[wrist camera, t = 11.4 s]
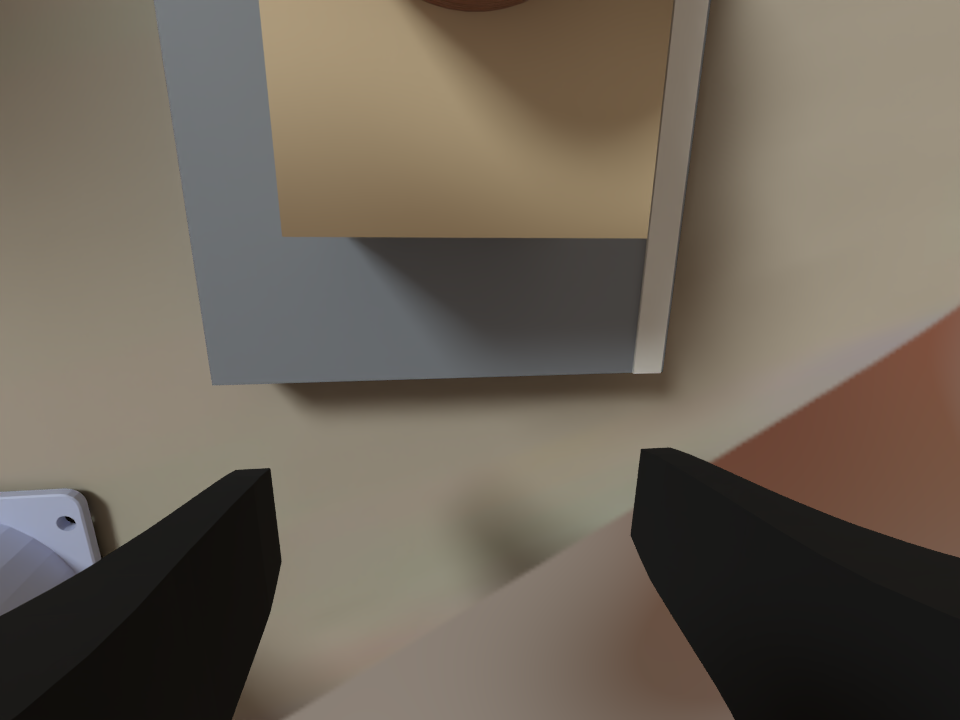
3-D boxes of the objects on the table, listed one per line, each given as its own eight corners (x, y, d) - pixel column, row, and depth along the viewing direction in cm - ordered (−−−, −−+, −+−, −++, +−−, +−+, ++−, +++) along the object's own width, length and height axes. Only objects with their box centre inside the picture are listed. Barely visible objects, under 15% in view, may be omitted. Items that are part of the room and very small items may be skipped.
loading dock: (627, 346, 17) (664, 372, 15) (241, 355, 16) (211, 386, 13) (710, -435, 12) (792, -605, 9) (124, -542, 10) (32, -778, 8)
